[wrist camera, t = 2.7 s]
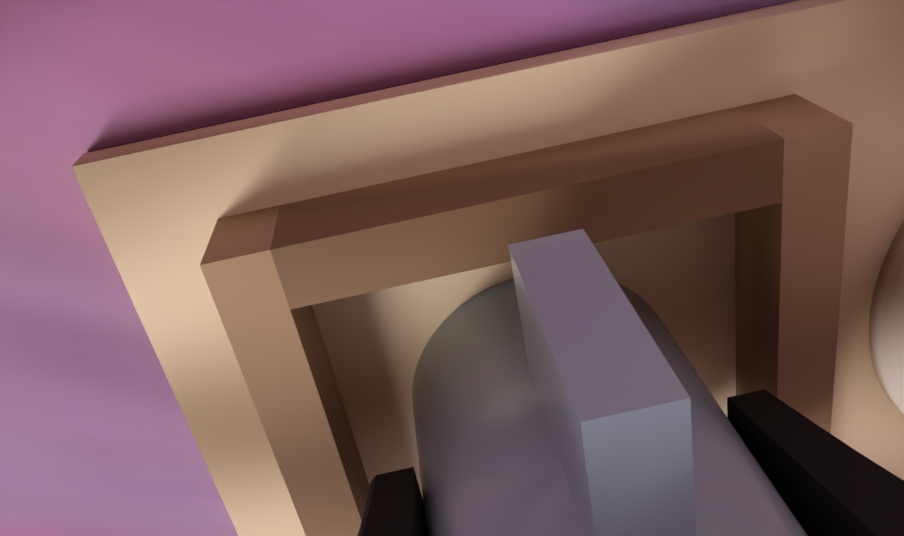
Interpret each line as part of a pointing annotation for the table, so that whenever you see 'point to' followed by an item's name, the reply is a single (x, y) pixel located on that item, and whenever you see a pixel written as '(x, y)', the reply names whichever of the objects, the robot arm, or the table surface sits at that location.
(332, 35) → the table surface
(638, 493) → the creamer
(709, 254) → the jug board
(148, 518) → the table surface
